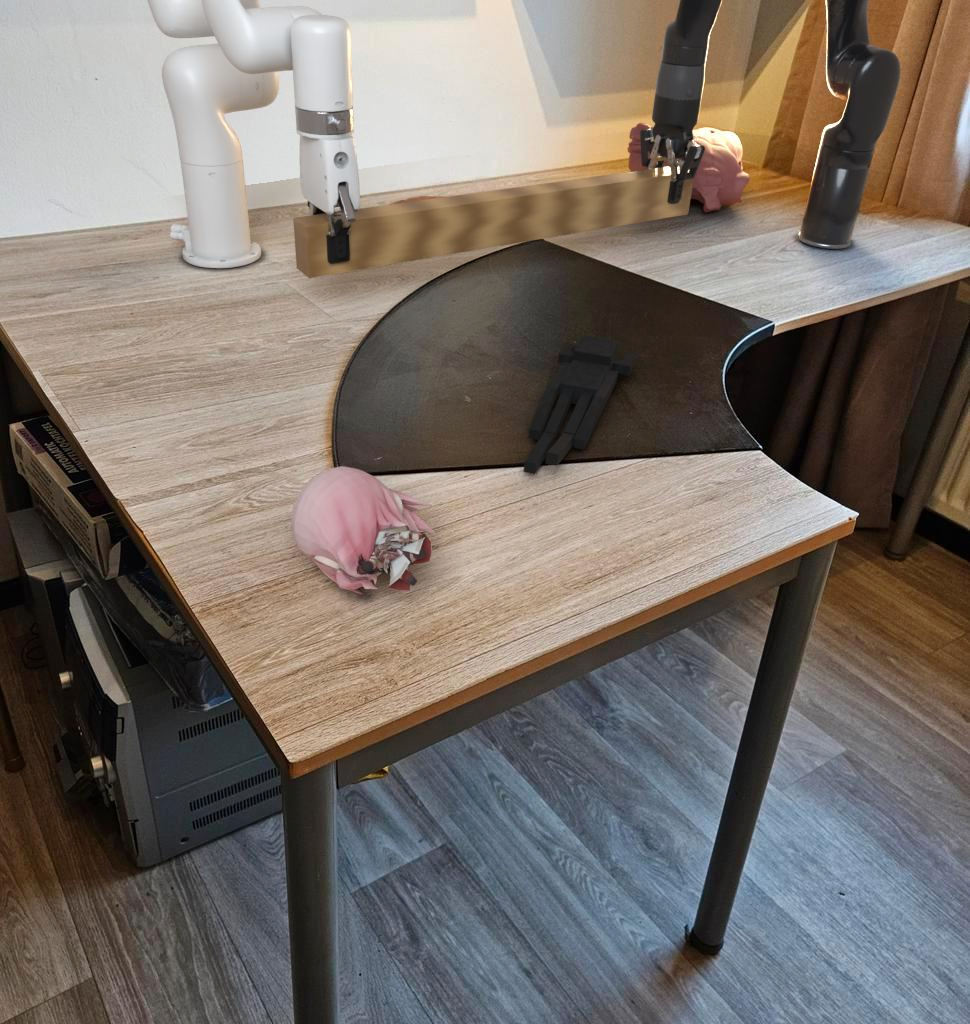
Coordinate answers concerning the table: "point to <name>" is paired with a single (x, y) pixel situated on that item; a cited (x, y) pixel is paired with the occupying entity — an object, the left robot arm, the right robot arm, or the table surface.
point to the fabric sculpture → (706, 166)
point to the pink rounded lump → (359, 529)
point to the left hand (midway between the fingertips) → (330, 254)
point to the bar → (489, 219)
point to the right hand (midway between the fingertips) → (663, 198)
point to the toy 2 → (575, 398)
